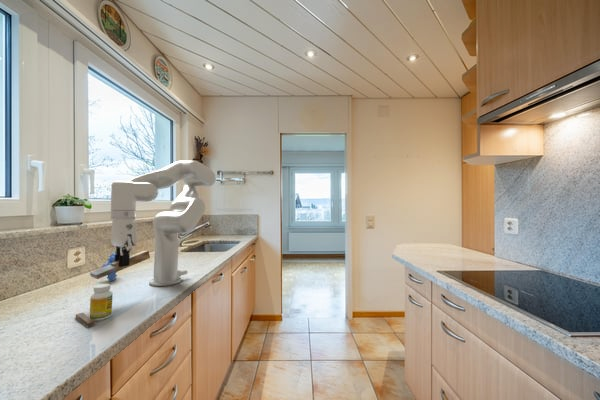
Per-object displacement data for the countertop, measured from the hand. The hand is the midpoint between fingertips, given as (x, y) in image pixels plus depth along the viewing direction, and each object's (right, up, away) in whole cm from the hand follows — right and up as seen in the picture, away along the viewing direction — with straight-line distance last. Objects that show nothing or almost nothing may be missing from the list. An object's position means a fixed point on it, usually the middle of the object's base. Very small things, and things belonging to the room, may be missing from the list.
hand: (122, 265), depth 94 cm
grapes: (-22, -13, +23) cm, 34 cm away
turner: (0, -1, 0) cm, 1 cm away
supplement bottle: (+4, -12, -16) cm, 20 cm away
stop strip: (+2, -12, -19) cm, 22 cm away
